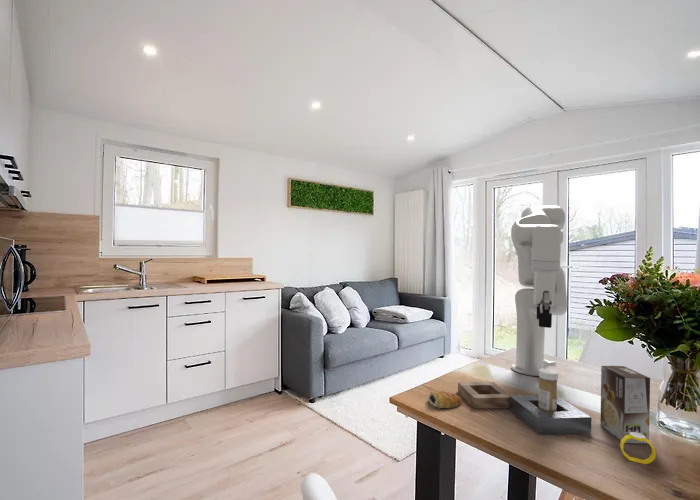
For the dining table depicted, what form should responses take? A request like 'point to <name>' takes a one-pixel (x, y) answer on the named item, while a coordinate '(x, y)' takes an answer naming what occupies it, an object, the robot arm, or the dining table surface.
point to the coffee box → (625, 402)
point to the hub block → (550, 416)
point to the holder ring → (484, 394)
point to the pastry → (444, 399)
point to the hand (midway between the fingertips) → (543, 323)
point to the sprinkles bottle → (548, 390)
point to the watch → (640, 438)
